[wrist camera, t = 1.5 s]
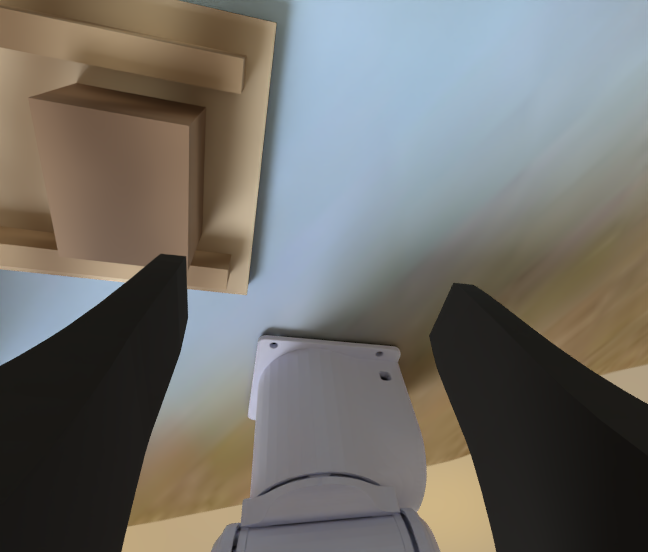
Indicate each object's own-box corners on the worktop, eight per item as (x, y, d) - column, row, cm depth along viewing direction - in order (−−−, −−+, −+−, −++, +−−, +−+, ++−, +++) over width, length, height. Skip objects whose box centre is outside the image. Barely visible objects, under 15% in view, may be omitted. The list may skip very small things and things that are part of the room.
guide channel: (276, 23, 16) (274, 23, 12) (248, 284, 23) (241, 330, 19) (-280, -106, 13) (-482, -150, 9) (-117, 244, 19) (-200, 291, 16)
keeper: (206, 107, 16) (189, 126, 13) (202, 233, 19) (187, 271, 17) (76, 82, 15) (28, 97, 13) (94, 219, 19) (58, 256, 16)
